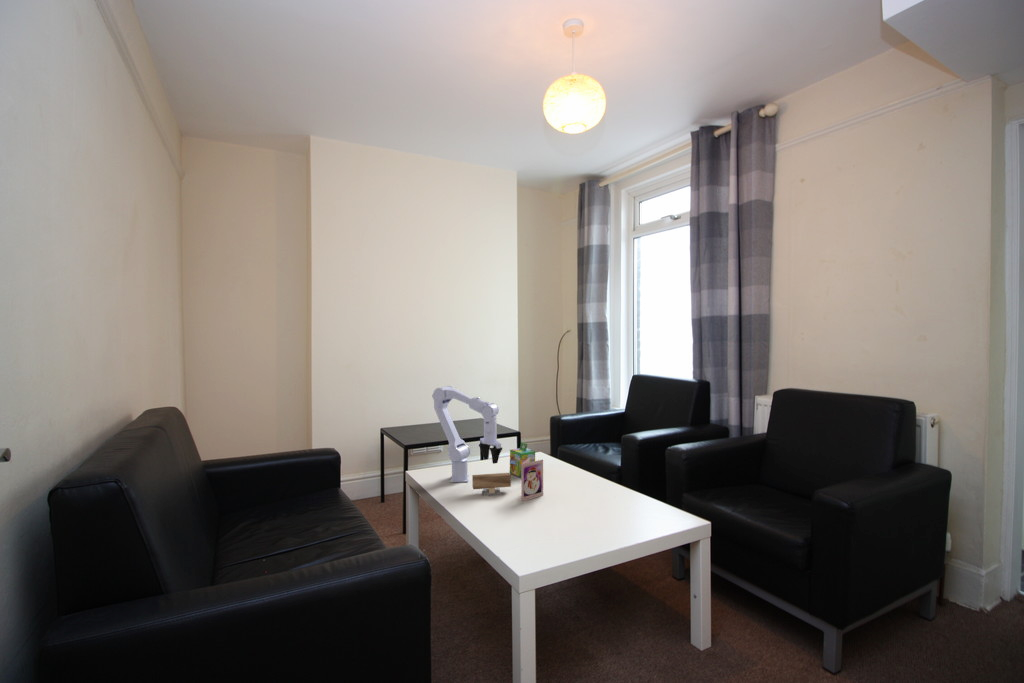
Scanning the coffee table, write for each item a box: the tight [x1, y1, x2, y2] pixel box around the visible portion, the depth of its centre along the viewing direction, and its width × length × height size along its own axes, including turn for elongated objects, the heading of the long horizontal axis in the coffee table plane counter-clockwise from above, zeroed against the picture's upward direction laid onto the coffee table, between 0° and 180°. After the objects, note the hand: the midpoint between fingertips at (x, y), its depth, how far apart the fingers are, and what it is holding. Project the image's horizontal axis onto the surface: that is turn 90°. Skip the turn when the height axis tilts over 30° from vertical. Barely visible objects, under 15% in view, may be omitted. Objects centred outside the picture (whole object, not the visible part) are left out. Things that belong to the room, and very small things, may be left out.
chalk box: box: [509, 442, 536, 478], centre depth 225 cm, size 9×9×15 cm
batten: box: [471, 472, 512, 490], centre depth 199 cm, size 4×16×5 cm, turn 101°
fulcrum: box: [482, 487, 501, 496], centre depth 199 cm, size 6×7×2 cm
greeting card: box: [520, 457, 544, 502], centre depth 194 cm, size 11×7×15 cm, turn 126°
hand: (490, 461), depth 210 cm, fingers open, 7 cm apart
